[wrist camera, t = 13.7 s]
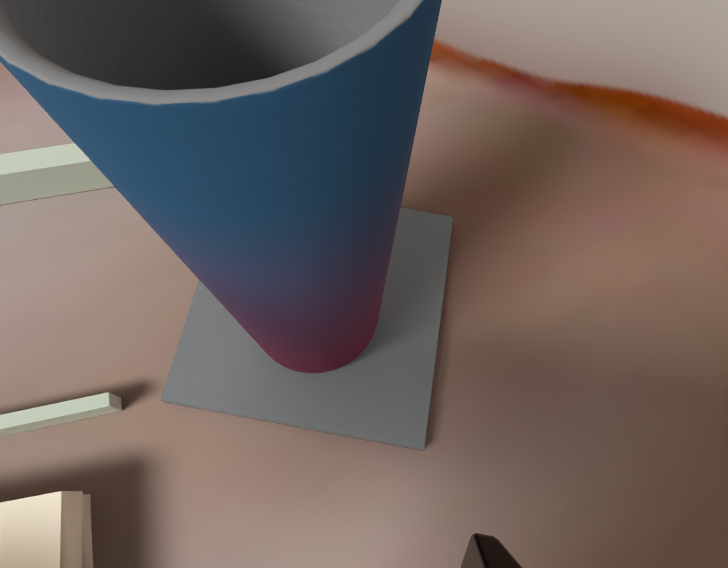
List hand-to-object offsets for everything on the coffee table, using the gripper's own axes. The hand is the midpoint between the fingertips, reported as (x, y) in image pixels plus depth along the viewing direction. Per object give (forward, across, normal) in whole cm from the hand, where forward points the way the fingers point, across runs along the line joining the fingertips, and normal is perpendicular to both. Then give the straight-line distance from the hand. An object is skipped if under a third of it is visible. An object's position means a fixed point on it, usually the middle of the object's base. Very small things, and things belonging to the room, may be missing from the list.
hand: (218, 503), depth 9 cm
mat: (+13, 0, -2) cm, 13 cm away
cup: (+12, 0, -2) cm, 12 cm away
